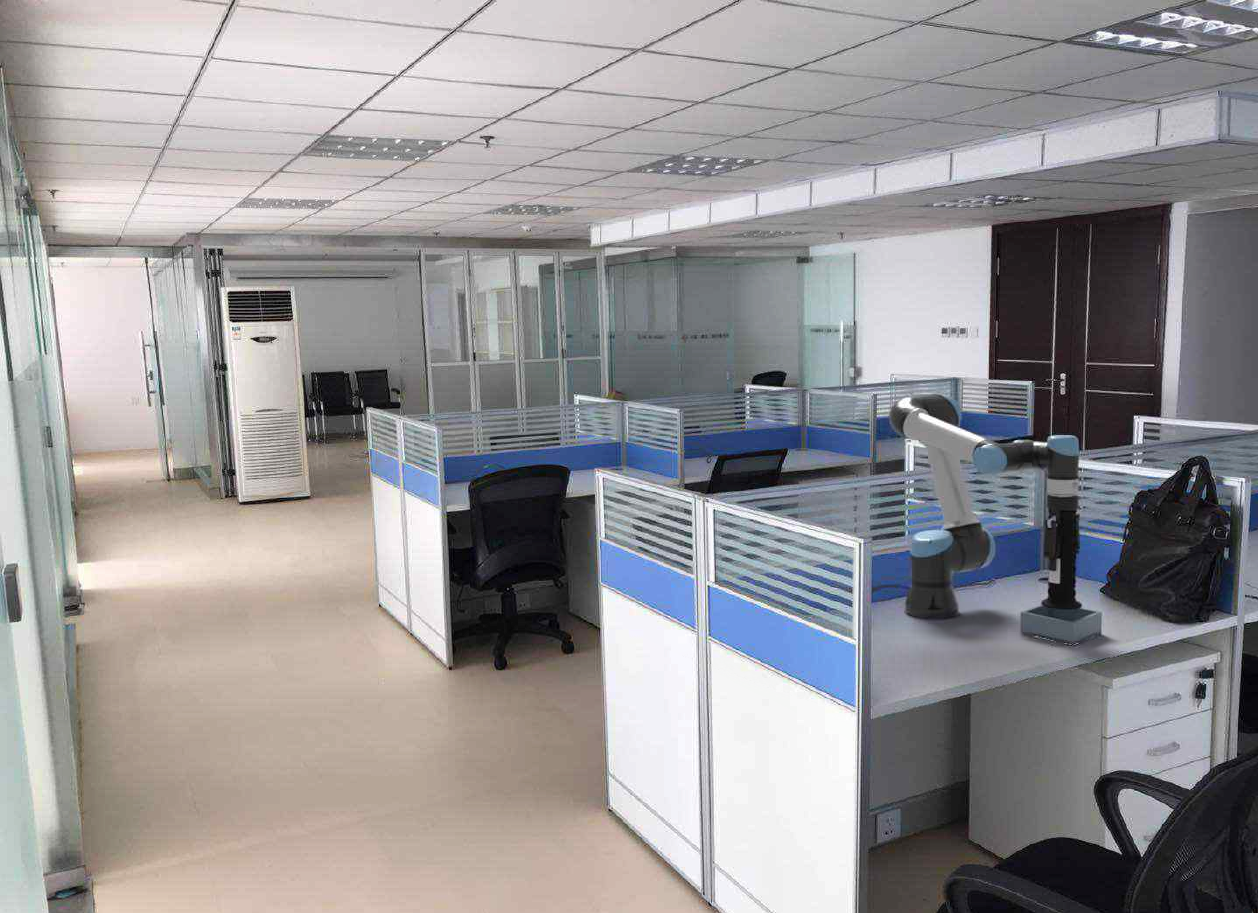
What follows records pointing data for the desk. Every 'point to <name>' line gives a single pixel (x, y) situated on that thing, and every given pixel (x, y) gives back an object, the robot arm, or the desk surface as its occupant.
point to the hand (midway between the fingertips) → (1061, 579)
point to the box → (1061, 624)
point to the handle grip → (1065, 566)
